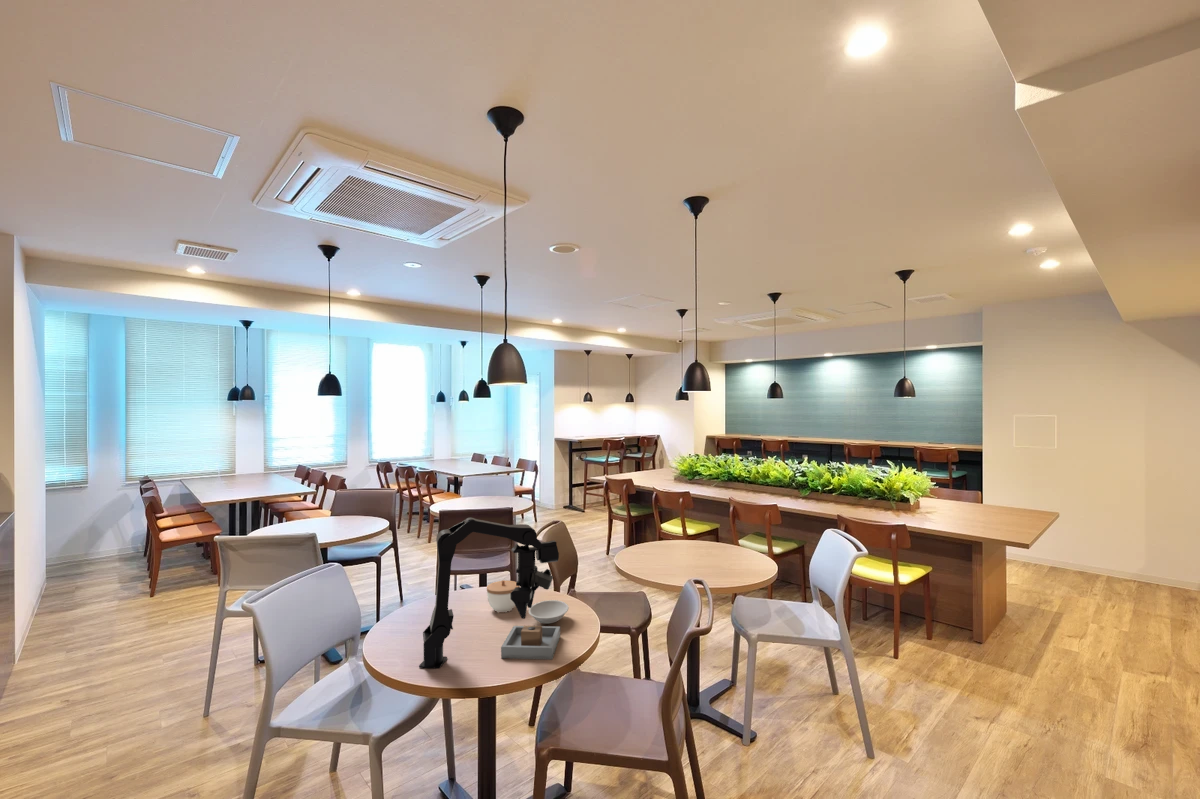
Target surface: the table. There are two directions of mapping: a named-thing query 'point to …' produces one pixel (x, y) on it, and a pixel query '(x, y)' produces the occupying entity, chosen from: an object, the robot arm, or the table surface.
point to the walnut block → (531, 636)
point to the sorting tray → (545, 651)
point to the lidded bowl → (501, 595)
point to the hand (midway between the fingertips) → (526, 612)
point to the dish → (548, 611)
